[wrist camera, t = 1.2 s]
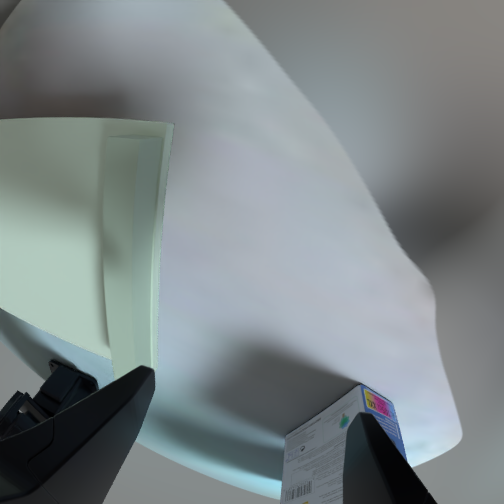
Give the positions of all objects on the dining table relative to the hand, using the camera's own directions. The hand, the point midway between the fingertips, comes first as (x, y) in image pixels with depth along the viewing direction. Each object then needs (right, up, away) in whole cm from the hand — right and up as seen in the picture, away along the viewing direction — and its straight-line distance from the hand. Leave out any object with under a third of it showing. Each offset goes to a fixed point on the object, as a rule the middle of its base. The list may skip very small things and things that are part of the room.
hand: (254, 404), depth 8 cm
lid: (-13, +5, +7) cm, 15 cm away
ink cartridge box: (+8, -11, +17) cm, 21 cm away
